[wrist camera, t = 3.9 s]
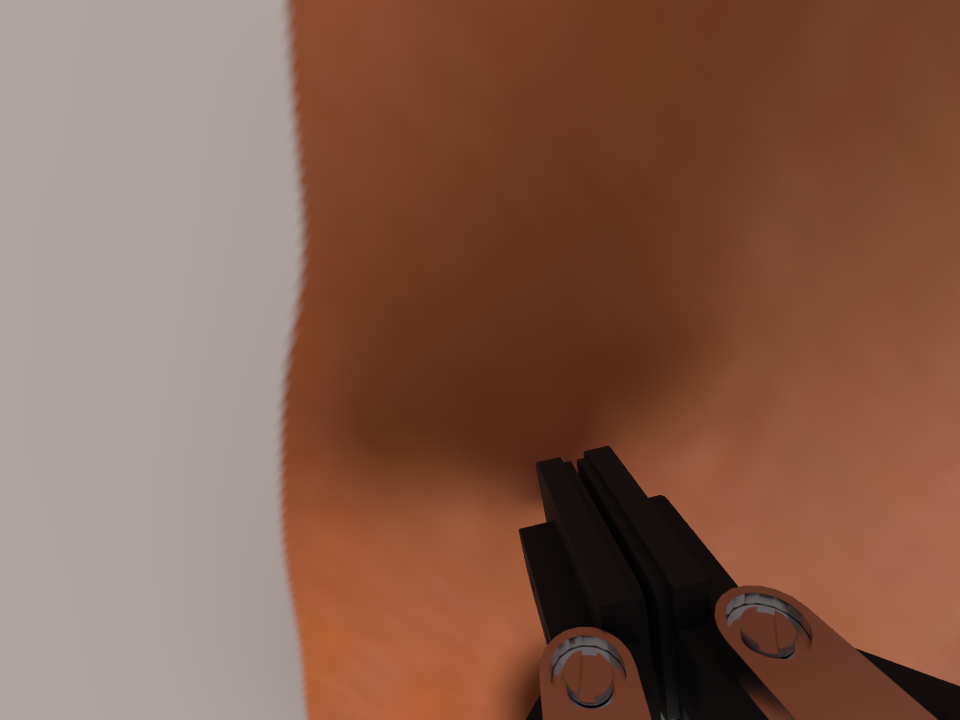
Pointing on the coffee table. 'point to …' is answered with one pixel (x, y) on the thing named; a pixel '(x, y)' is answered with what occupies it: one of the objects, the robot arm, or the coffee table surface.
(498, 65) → the coffee table surface
